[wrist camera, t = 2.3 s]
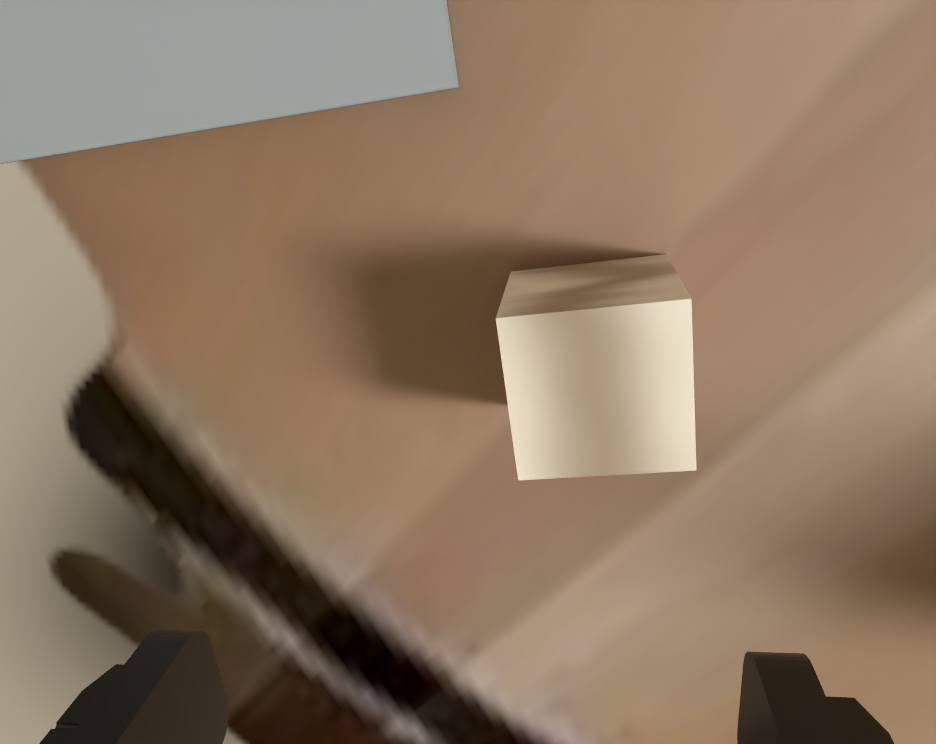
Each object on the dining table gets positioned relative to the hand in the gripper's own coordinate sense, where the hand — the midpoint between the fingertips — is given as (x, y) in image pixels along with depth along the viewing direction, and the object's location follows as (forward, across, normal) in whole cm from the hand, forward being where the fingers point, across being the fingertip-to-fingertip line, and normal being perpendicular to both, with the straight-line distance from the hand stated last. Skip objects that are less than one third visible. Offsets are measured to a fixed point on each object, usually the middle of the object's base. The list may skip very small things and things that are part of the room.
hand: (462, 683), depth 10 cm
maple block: (+19, -3, +1) cm, 19 cm away
